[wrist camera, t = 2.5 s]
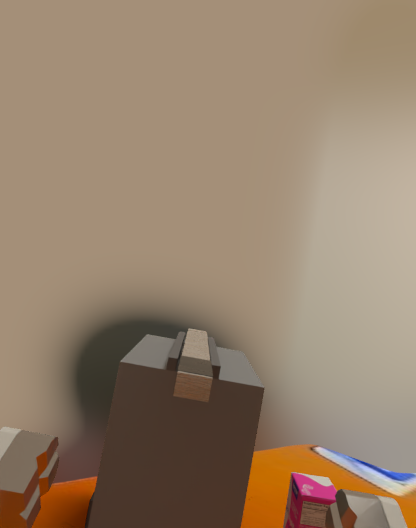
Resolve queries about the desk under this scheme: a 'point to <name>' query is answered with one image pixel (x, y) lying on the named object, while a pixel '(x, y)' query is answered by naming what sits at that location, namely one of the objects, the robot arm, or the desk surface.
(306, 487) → the supplement box
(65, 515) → the desk surface
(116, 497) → the grey grooved block
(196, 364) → the bar
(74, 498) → the desk surface
